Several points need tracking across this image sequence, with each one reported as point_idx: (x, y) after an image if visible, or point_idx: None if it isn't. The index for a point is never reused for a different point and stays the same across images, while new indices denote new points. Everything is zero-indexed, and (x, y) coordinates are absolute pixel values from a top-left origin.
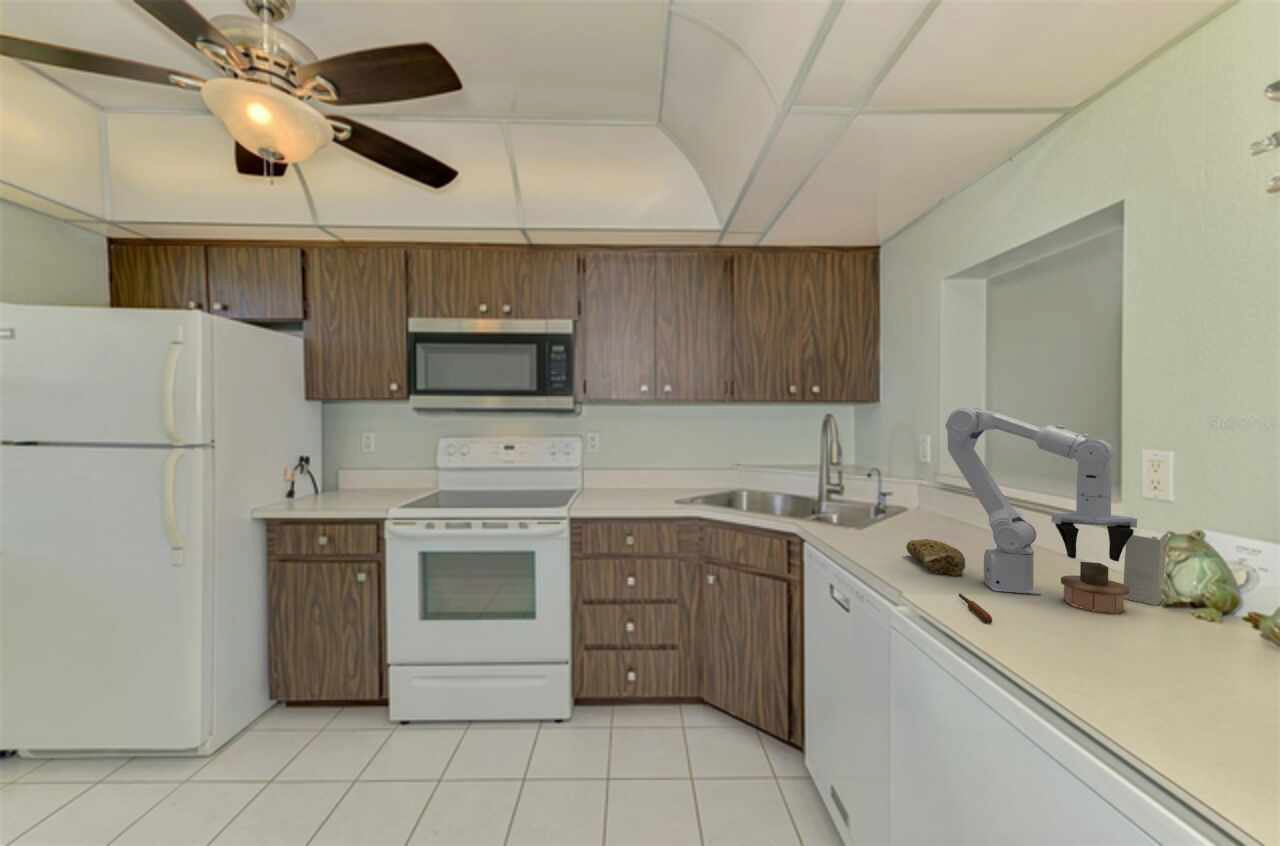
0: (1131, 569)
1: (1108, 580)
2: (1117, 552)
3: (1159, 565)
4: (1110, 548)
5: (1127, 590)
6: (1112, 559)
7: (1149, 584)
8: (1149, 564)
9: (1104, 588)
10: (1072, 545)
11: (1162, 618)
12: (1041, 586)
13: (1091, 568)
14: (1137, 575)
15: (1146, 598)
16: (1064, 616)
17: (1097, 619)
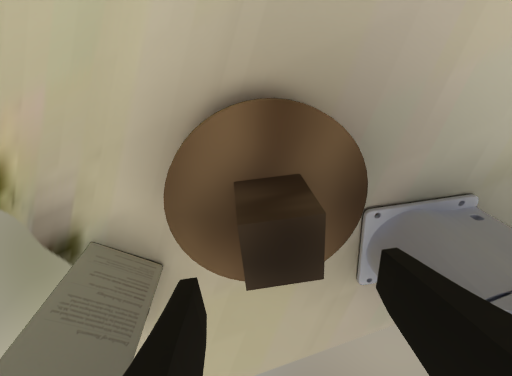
0: (117, 338)
1: (206, 260)
2: (180, 316)
3: (1, 358)
4: (199, 374)
5: (178, 151)
6: (201, 297)
7: (83, 289)
8: (41, 358)
9: (259, 141)
10: (467, 297)
11: (98, 120)
12: (325, 285)
13: (308, 209)
14: (106, 317)
15: (109, 257)
16: (397, 5)
17: (302, 14)
